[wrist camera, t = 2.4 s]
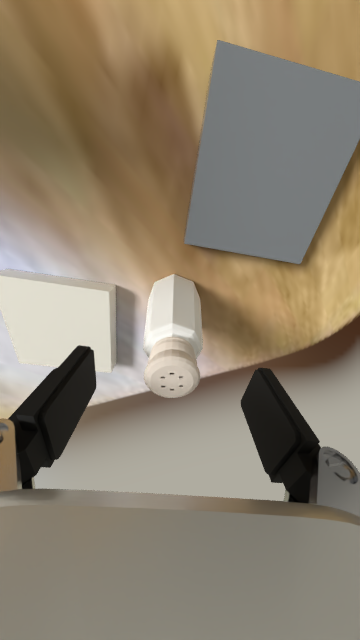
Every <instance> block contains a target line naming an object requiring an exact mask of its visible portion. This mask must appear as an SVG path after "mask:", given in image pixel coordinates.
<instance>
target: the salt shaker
mask: <svg viewBox="0 0 360 640" xmlns="http://www.w3.org/2000/svg"><path fill="white" fill-rule="evenodd" d="M202 346H203V338H202V320H201V301H200V297H199V295H198V292H197V290H196V287H195V284H194V282H193V281H190V280H188V279H185V278H183V277H180V276H178V275H176V274H172V275H170V276H168V277H165V278H163V279H161V280H158V281H156V282H155V283H154V286H153V288H152V291H151V294H150V297H149V300H148V308H147V317H146V325H145V334H144V346H143V350H144V351H145V353H146V354H147V356H148V357H149V360H148V365H147V367H146V369H145V372H144V380H145V383H146V385H147V386H148V388H149V389H150V390H151V391H152V392H154V393H155V394H157V395H159V396H162V397H167V398H177V397H181V396H185V395H187V394H189V393H191V392H192V391H193V390H194V389H195V388H196V386H197V385H198V383H199V380H200V372H199V369H198V367H197V361H196V359H197V357H198V355H199V354H200V352H201V350H202Z"/></svg>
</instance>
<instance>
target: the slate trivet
mask: <svg viewBox="0 0 360 640" xmlns="http://www.w3.org/2000/svg"><path fill="white" fill-rule="evenodd" d="M359 140H360V82H359V81H355V80H352V79H349V78H345V77H342V76H339V75H335V74H332V73H328V72H325V71H322V70H318V69H315V68H311V67H308V66H305V65H301V64H298V63H295V62H291V61H288V60H284V59H281V58H278V57H274V56H271V55H267V54H264V53H261V52H257V51H254V50H250V49H247V48H244V47H240V46H237V45H234V44H230V43H227V42H223V41H220V40H217V44H216V49H215V54H214V58H213V63H212V67H211V73H210V79H209V85H208V91H207V98H206V104H205V110H204V116H203V123H202V129H201V135H200V141H199V148H198V154H197V160H196V167H195V173H194V179H193V185H192V192H191V198H190V204H189V210H188V217H187V223H186V229H185V235H184V244H190V245H196V246H201V247H207V248H212V249H218V250H223V251H229V252H235V253H240V254H246V255H251V256H257V257H262V258H268V259H274V260H279V261H285V262H290V263H296V264H301V261H302V259H303V257H304V255H305V253H306V251H307V249H308V247H309V245H310V243H311V240H312V238H313V236H314V234H315V232H316V230H317V228H318V226H319V224H320V222H321V219H322V217H323V215H324V213H325V211H326V209H327V207H328V205H329V203H330V200H331V198H332V196H333V194H334V192H335V190H336V188H337V186H338V184H339V182H340V179H341V177H342V175H343V173H344V171H345V169H346V167H347V165H348V163H349V161H350V158H351V156H352V154H353V152H354V150H355V148H356V146H357V144H358V142H359Z"/></svg>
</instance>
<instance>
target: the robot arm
mask: <svg viewBox="0 0 360 640" xmlns="http://www.w3.org/2000/svg"><path fill="white" fill-rule="evenodd" d="M95 389H96V373H95V359H94V350H92V349H91V347H89V346H81V345H78V346H77V347H76V348H75V349H74V350H73V351H72V353H71V354H70V355H69V356H68V357H67V358H66V359H65V360H64V361H63V363H62V364H61V365H60V366H59V367H58V368H56V369H54V370H53V371H51V373H50V374H49V375H48V376H47V377H46V378H45V379H44V380H43V381H42V382H41V384H40V385H39V386H38V387H37V388H36V389H35V390H34V391H33V392H32V393H31V394H30V396H29V397H28V398H27V399H26V400H25V401H24V402H23V403H22V404H21V405H20V407H19V408H18V409H17V410H16V411H15V412H14V413H13V414H12V415H11V416H10V417H9V419H0V640H360V473H359V471H358V470H357V468H356V467H355V466H354V465H353V463H352V462H351V461H350V460H349V459H348V458H347V457H346V456H344V455H343V454H342V453H340V452H339V451H337V450H335V449H333V448H330V447H322V448H321V447H320V446H319V444H318V443H319V440H318V438H317V437H316V435H315V434H314V432H313V431H312V429H311V428H310V426H309V425H308V424H307V422H306V421H305V419H304V418H303V416H302V415H301V413H300V412H299V410H298V409H297V407H296V406H295V405H294V403H293V401H292V400H291V399H290V397H289V396H288V394H287V393H286V391H285V390H284V388H283V387H282V386H281V384H280V383H279V381H278V379H277V378H276V377H275V375H274V374H273V372H272V371H271V370H270V369H267V368H258V370H255V372H254V374H253V376H252V378H251V380H250V383H249V385H248V387H247V389H246V391H245V393H244V395H243V397H242V400H241V407H242V410H243V412H244V415H245V418H246V421H247V423H248V426H249V429H250V431H251V434H252V437H253V440H254V442H255V445H256V448H257V450H258V453H259V456H260V459H261V461H262V464H263V467H264V469H265V472H266V473H267V474H269V477H270V479H271V482H275V483H283V484H284V486H285V488H286V490H285V496H284V501H270V500H253V499H239V498H223V497H204V496H187V495H170V494H153V493H133V492H114V491H95V490H68V489H67V490H66V489H35V482H34V476H35V475H36V474H37V473H38V471H39V469H40V467H51V465H52V464H53V462H54V460H55V459H58V458H59V457H60V456H61V454H62V452H63V450H64V449H65V447H66V445H67V443H68V441H69V439H70V437H71V435H72V433H73V431H74V429H75V428H76V426H77V424H78V422H79V420H80V418H81V416H82V414H83V412H84V411H85V408H86V407H87V405H88V403H89V401H90V399H91V397H92V395H93V393H94V391H95Z"/></svg>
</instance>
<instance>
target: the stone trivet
mask: <svg viewBox="0 0 360 640" xmlns="http://www.w3.org/2000/svg"><path fill="white" fill-rule="evenodd" d="M0 310H1V312H2V315H3V318H4V321H5V324H6V327H7V329H8V332H9V335H10V338H11V341H12V344H13V346H14V349H15V352H16V355H17V358H18V360H19V363H23V364H32V365H42V366H52V367H59V366H60V365H61V364H62V363H63V361H64V360H65V359H66V358H67V357H68V356H69V355H70V354H71V353H72V351H73V350H74V349H75V348H76V347H77V346H78V345H81V346H89V347H91V349H92V350H94V359H95V371H99V372H109V373H111V372H112V370H113V368H114V366H115V363H116V361H117V352H116V285H112V284H106V283H99V282H92V281H86V280H79V279H72V278H66V277H59V276H53V275H46V274H39V273H33V272H26V271H19V270H13V269H5V270H1V271H0Z"/></svg>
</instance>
